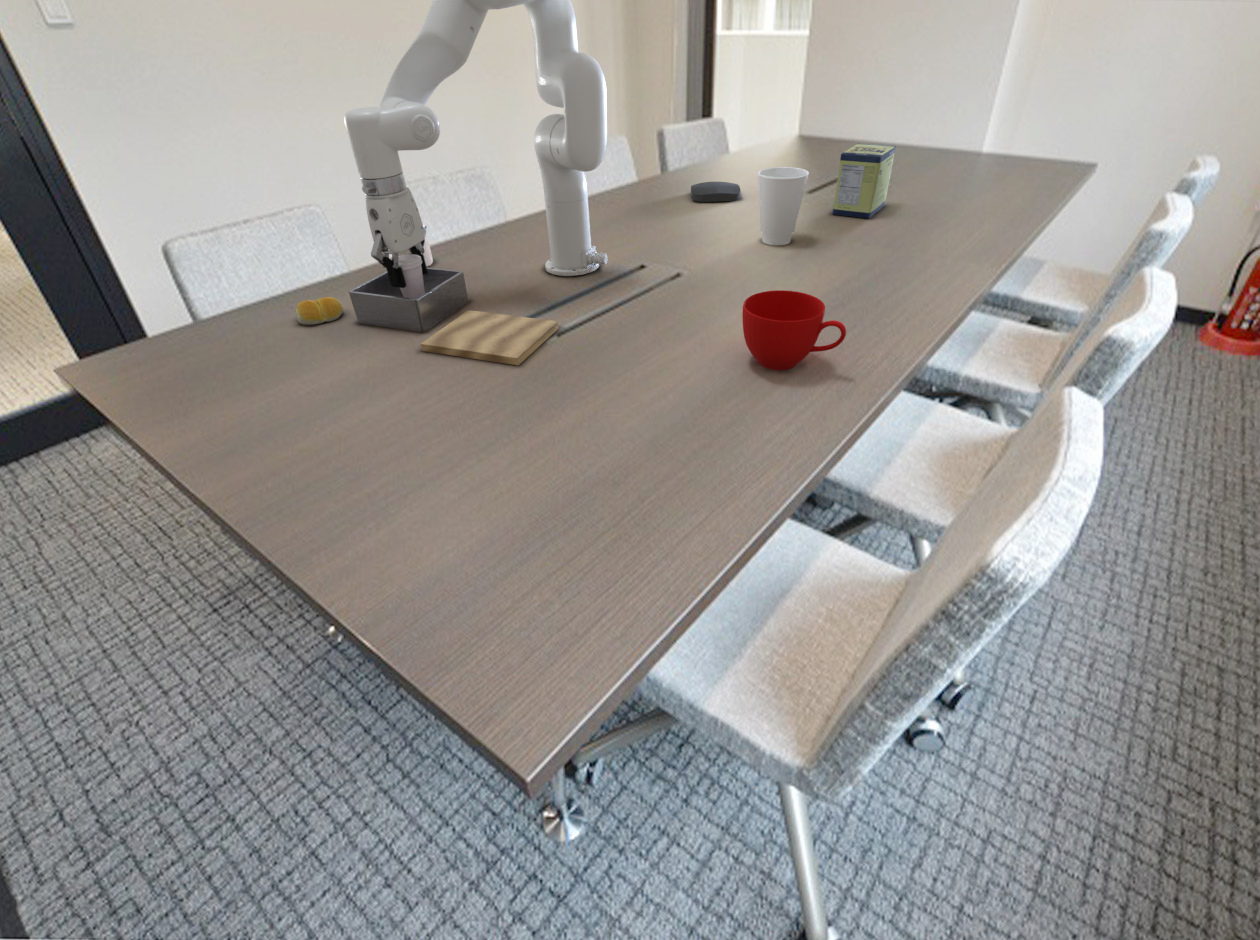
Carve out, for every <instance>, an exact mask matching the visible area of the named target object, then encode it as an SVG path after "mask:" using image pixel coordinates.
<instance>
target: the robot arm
mask: <svg viewBox="0 0 1260 940" xmlns="http://www.w3.org/2000/svg"><path fill="white" fill-rule="evenodd" d="M430 4H431V5H430V7H429V8H428V12H427V14H426V16H425V19H424V21H423V24H422V26H421V28H420V30H419V32H418V34H417V35H416V36H415V37H414V39H413V40H412V42H411V44H410V45H409V47H408V48H407V50H406V52H405V53H404V55H403V56H402V57H401V58H400V60H399V61H398V63H397V64H396V66H395V68H394V71H393V72H392V74H391V76H390V79H389V81H388V83H387V86H386V88H385V91H384V93H383V96H382V98H381V101H380V104H379V107H378V106H369V107H368V106H366V107H358V108H353V109H350V110H347V111H346V112H345V113H344V115H343V124H344V127H345V130H346V133H347V137H348V140H349V144H350V147H351V150H352V154H353V158H354V161H355V165H356V169H357V171H358V175H359V178H360V182H361V186H362V187H361V190H362V192H363V194H364V195H365V198H364V201H365V210H366V215H367V222H368V226H369V229H370V230H369V231H370V234H371V238H372V241H373V245H372V248H371V252H370V256H371V258H373V259H374V260H376V261H377V262H378V263H379V264H380V265H382V267H383V268H385V269H386V271H387V272H388V276H389V279H390V283H391V286H392V287H399V288H405V287H406V282H405V279H404V275H403V271H402V268H401V267H398V253H402V252H404V251H406V250H408V249H409V251H410V252H411V253H410V254H415V255H419V256H420V257H421V259H422V264H421V267H422V274H423V275H426V274H427V273H428V271H427V268H428V267H426V263H425V259H424V255H423V254H424V251H425V250H424V248H423V246H424V243H425V239H424V238H425V235H426V232H427V227H426V228H425V227H424V226H423V224H422V222H423V221H422V217H421V214H420V212H419V208H418V205H417V203H416V200H415V198H414V196H413V194H412V191H411V189H410V188H409V187H407V182H406V179H405V175H404V171H403V167H402V162H401V159H400V156H399V152H400V151H401V152H402V151H422V150H426V149H429V148H431V147H433V146H434V145H435V144H436V143H437V142H438V140H439V137H440V135H441V124H440V121H439V118H438V117H437V115H436V113H435V112H434V111H433V110H432V109H431V108H429V107H428V106H427V104H428V101H429V100H430V98H431V96H432V95H433V93H434V92H435V90H436V89H437V87H438V86H439V85H440V84H441V83H443V81H444V80H447V79H448V78H449V77H450V76H452V75H454V74H455V73H456V72H457V71H459V70H460V69H461V68H462V67H463V66H464V65H465V64H466V63H467V61H468V58H469V56H470V54H471V51H472V49H473V47H474V44H475V42H476V39H477V37H478V34H479V33H480V31H481V28H482V25H483V23H484V21H485V18H486V16H487V14H488V11H489V10H501V9H507V8H512V7H516V6H521V5H523V6H524V8H525V10H526V11H527V14H528V17H529V20H530V23H531V29H532V38H533V51H534V52H533V53H534V67H535V79H536V80H535V83H536V89H537V92H538V95H539V97H540V98H541V100H542V101H543V102H544V103H546V104H547V105H550V106H553V107H556V108H562V109H563V114H561V113H553V114H548V115H547V116H545V117H543V118H542V119H541V120H540V121H539V122H538V124H537V125H536V127H535V129H534V136H533V144H534V151H535V155H536V159H537V162H538V166H539V170H540V174H541V180H542V187H543V196H544V197H543V198H544V207H545V215H546V225H547V235H548V241H549V252H550V258H549V259H548V260H546V262H545V263H544V267H545V271H546V272H548V273H549V274H551V275H555V276H558V277H559V276H560V277H577V276H583V275H587V274H590V273H592V272H595V271H596V270H597V269H598V268H599V267H600V265H605V266H606V265H607V264H608V259H609V258H608V255H607V253H606V252H597V249H596V245H592V237H591V224H590V210H589V194H588V193H589V191H588V185H587V184H588V183H587V179H586V174H585V172H592V171H595V170H596V169H597V168H599V166H600V165H601V164H602V162H603V160H604V158H605V155H606V152H607V146H608V101H607V100H608V99H607V83H606V78H605V75H604V72H603V69H602V67H601V65H600V64H599V62H598V61H597V60H596V59H595V58H594V57H593V56H591V55H590V54H587V53H584V52H579V43H578V42H579V41H578V31H577V30H578V29H577V20H576V19H577V18H576V15H575V14H576V13H575V9H574V6H573V3H572V1H571V0H432V2H431V3H430ZM390 255H391V258H390ZM391 259H392V260H391Z"/></svg>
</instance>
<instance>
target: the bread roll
mask: <svg viewBox="0 0 1260 940" xmlns="http://www.w3.org/2000/svg"><path fill="white" fill-rule="evenodd" d="M294 311H295V313H296V319H297V322H298V323H299V324H301V325H305V326H310V325H312V326H313V325H318V324H323V323H325V322H333V321H335V320H338V319H339V318H340V316H342V314H343V313H344V307H343V304H342V303H341V302H340V300H338V299H337V298H335V297H332V296H326V297H320V298H317V299H315V300H311V299H307V300H301V301H300V302H298V303H297V304H296V307H295V310H294Z"/></svg>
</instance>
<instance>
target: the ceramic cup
mask: <svg viewBox="0 0 1260 940" xmlns="http://www.w3.org/2000/svg"><path fill="white" fill-rule="evenodd" d="M825 314H826V305H825V303H824V302H823V301H822V300H821V299H820V298H818V297H817V296H814V295H812V294H809V293H806V292H805V293H804V292H800V291H795V290H786V289H785V290H784V289H782V290H779V289H778V290H766V291H761V292H757V293H753V294H752V295H750V296H748V297H747V298H746V299H745V300H744V301H743V304H742V315H741V316H742V331H743V337H744V342H745V344H746V347H747V349H748V350H749V352H750V354H751V355H752V356H753V358H754V359H755V360H756V361H757V363H758V365H760V366H761V367H763V368H766V369H768V370H773V371H785V370H790V369H793V368H795V367H797V365H798V364H799V363H801V362H802V361H803V360H804V359H805V358H806V357H807V356H808V355H809V354H810V353H817V352H825V351H829V350H833V349H835V348H837V347H838V346H839V345H841V344H842V342H843V341H844V340H845V338H846V336H847V328H846V326H845V324H844V323H843V322H841V321H839V320H835V319H833V320H832V319H831V320H827V321H826V320H825V321H824V318H825ZM828 327H836V328H838V329H839V331H840V337H839V338H838V339H837V340H836V341H834V342H832V343H830V344H825V345H816V343H817V341H818V339H819V337H820V334H821V332H822V331H823V330H824V329H825V328H828Z"/></svg>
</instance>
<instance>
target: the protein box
mask: <svg viewBox="0 0 1260 940" xmlns="http://www.w3.org/2000/svg"><path fill="white" fill-rule="evenodd" d="M895 152H896V145H884V144H871V143H856V144H854V145H853V146H852V147H849V149H847V150H845V151H843V152H841V153H840V158H839V165H838V166H839V167H838V173H837V180H836V187H835V193H834V202H833V206H832V207H833V208H832V215H834V216H835V215H836V216H844V217H851V218H852V217H853V218H861V219H871V218H872V217H873V216H874V215H875V214H876V213H877V212H879V211H880V210H882V208H883V207H885V204H886V199H887V195H888V189H889V184H890V179H891V175H892V174H891V173H892V168H893V163H894V158H895Z"/></svg>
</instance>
